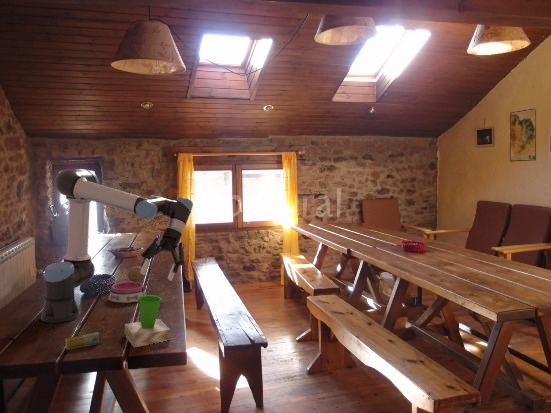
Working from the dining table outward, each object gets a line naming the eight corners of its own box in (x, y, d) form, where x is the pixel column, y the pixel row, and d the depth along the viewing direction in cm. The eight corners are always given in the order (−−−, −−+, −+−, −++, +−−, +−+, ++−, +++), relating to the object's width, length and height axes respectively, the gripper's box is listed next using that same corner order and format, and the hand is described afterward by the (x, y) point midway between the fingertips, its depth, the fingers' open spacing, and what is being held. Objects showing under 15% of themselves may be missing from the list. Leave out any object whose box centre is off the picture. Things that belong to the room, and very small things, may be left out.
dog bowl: (114, 293, 242) (114, 280, 242) (150, 293, 243) (150, 280, 243) (103, 304, 224) (103, 290, 223) (142, 304, 225) (142, 290, 224)
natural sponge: (133, 286, 255) (133, 268, 254) (124, 283, 261) (124, 266, 260) (147, 283, 261) (147, 266, 260) (139, 280, 267) (139, 263, 266)
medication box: (99, 341, 178) (99, 331, 178) (101, 343, 176) (100, 333, 176) (65, 348, 172) (65, 337, 171) (66, 350, 169) (66, 340, 169)
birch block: (133, 348, 173) (133, 335, 172) (124, 336, 185) (124, 324, 184) (170, 341, 180) (170, 329, 180) (159, 330, 192) (159, 318, 192)
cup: (164, 324, 185) (166, 297, 184) (150, 331, 177) (152, 303, 176) (145, 320, 188) (147, 293, 187) (130, 326, 180) (133, 298, 179)
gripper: (202, 238, 201) (185, 285, 192) (154, 230, 210) (135, 274, 201) (195, 231, 195) (177, 279, 186) (145, 223, 203) (126, 268, 195)
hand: (155, 276), depth 194 cm, fingers open, 13 cm apart
